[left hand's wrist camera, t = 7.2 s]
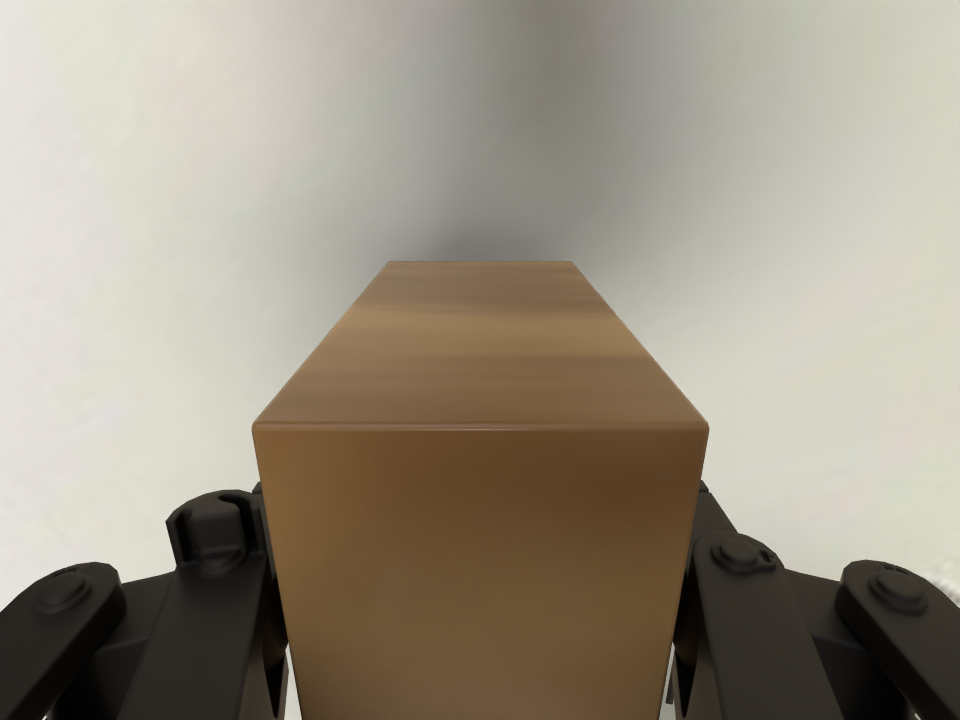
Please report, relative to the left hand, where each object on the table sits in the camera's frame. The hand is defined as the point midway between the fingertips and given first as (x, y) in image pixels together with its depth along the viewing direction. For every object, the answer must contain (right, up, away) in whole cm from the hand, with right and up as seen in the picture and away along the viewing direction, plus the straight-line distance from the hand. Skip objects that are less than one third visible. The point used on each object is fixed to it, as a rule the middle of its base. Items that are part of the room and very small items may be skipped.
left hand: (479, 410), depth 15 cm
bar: (0, -7, +3) cm, 8 cm away
